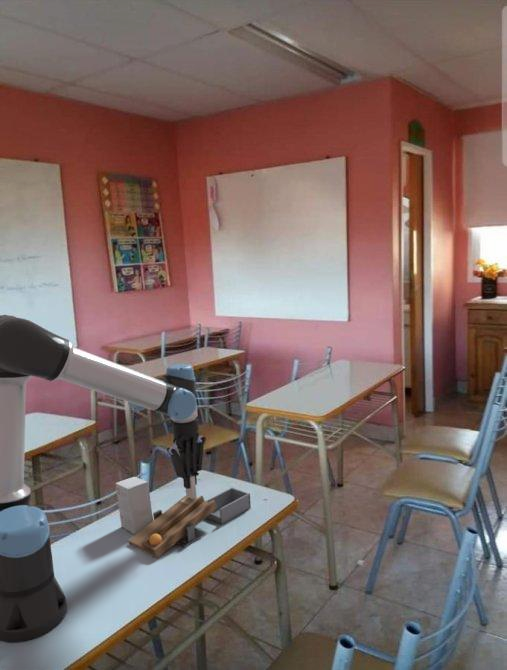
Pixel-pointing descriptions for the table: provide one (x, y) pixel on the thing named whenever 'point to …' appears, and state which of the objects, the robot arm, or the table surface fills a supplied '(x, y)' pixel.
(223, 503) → the tray
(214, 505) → the seesaw
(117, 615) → the table surface
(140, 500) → the small box
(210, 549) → the table surface
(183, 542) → the pivot bracket
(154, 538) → the ball
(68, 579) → the table surface
